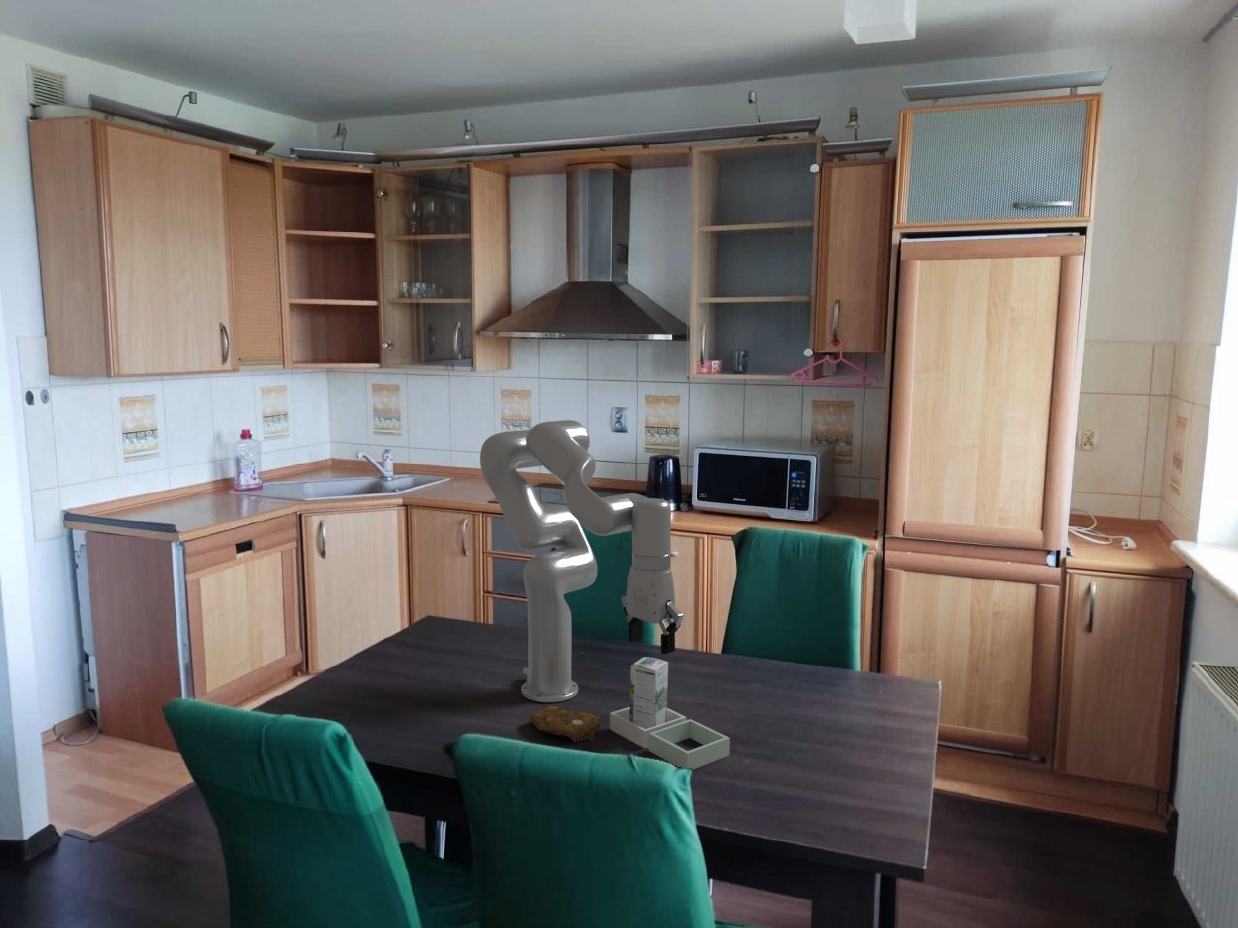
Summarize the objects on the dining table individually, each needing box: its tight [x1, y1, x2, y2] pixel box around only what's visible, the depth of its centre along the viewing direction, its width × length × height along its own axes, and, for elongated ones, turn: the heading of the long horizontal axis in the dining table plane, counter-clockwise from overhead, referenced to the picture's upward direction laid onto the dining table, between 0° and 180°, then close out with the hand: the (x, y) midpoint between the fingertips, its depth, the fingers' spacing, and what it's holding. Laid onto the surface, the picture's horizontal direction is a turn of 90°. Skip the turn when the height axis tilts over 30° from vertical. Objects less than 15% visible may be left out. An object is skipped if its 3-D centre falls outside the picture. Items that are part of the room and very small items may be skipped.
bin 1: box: [609, 706, 688, 749], centre depth 184 cm, size 11×11×4 cm
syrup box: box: [629, 656, 669, 729], centre depth 184 cm, size 6×6×14 cm
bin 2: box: [648, 718, 731, 770], centre depth 175 cm, size 11×11×4 cm
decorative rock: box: [529, 705, 602, 743], centre depth 185 cm, size 11×4×15 cm
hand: (651, 646), depth 182 cm, fingers open, 9 cm apart
